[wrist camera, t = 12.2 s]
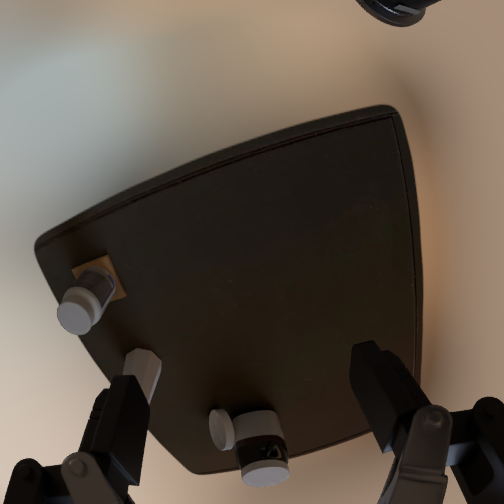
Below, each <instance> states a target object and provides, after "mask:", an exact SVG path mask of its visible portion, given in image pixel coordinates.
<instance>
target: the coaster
mask: <svg viewBox="0 0 504 504" xmlns="http://www.w3.org/2000/svg"><path fill="white" fill-rule="evenodd" d="M91 266H100V267H102V268H105V269H106V270H108V271H109V272H110V273H111V275H112V276H113V278H114V280H115V285H116V289H115V293H114V295H113V297H112V299H111V300H110V302H111V301H114V300H117V299H121V298H124V297H126V296H127V293H126V291H125V289H124V287H123V285H122V282H121V280H120V278H119V276H118V274H117V272H116V270H115V268H114V266H113V263H112V261H111V259H110V257H109V255H108V254H107V255H105V256H102V257H99V258H97V259H94V260H92V261H89V262H87V263H84V264H82V265H79V266H77V267H74V268H73V269H72V272H73V274H74V276H75V278H76V280H77V278H78V277H79V276H80V275H81V274H82V273H83V272H84V271H85V270H86V269H87V268H89V267H91Z"/></svg>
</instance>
